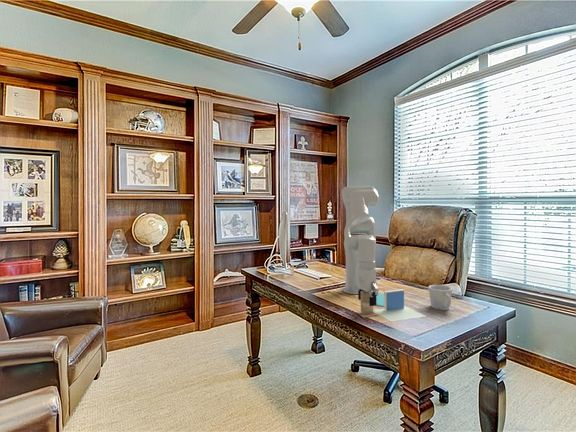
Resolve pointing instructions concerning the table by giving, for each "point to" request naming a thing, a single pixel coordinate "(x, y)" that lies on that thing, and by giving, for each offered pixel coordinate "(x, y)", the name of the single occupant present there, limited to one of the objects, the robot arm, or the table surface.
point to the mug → (440, 296)
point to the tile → (393, 300)
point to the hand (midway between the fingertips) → (367, 302)
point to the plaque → (380, 300)
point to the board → (399, 314)
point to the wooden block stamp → (366, 306)
